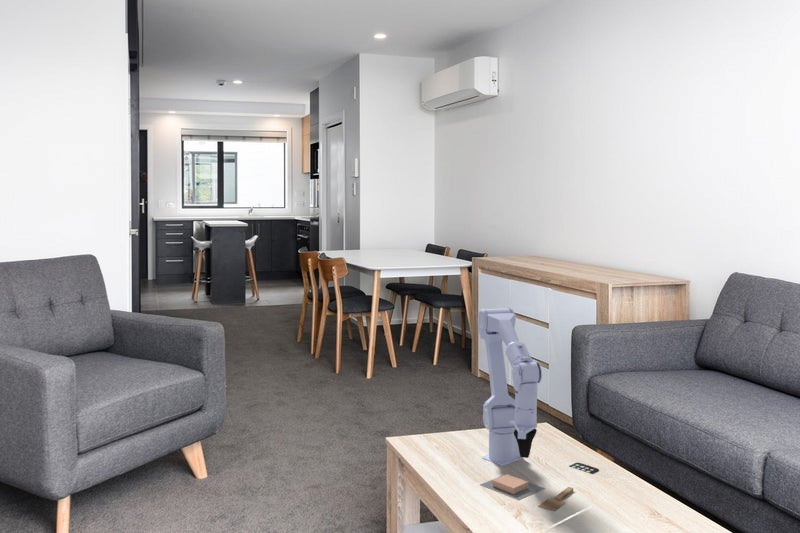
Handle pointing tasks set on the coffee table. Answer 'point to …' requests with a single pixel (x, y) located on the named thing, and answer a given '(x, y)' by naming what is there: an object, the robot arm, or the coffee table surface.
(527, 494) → the mat
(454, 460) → the coffee table surface
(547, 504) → the walnut turner
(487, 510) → the coffee table surface
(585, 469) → the smartphone
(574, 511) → the coffee table surface
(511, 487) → the tile
